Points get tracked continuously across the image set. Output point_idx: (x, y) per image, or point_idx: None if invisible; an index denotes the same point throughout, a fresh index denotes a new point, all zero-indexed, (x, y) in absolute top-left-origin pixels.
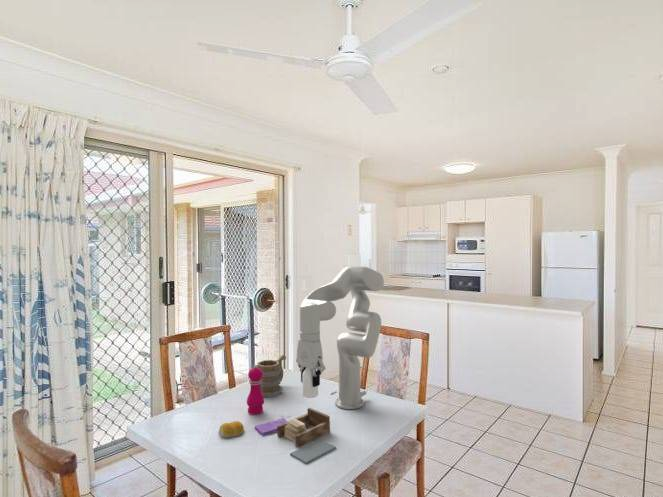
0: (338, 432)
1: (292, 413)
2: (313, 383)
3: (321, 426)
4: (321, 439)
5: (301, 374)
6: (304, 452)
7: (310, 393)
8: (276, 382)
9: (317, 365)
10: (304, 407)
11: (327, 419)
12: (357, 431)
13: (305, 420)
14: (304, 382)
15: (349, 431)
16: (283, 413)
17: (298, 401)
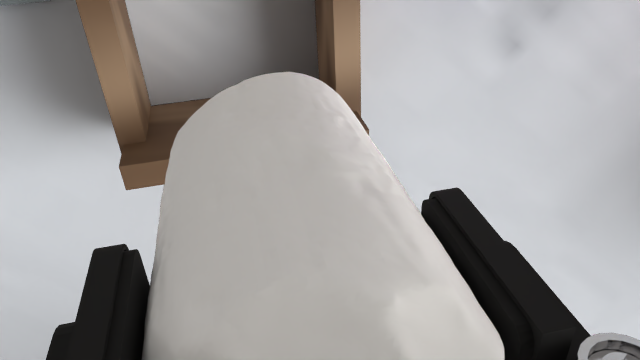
0: (96, 170)
1: (521, 88)
2: (88, 293)
3: (98, 73)
4: (30, 1)
5: (526, 291)
6: None
7: (178, 150)
8: None
9: None
10: (516, 189)
11: (122, 158)
12: (42, 263)
13: (327, 63)
14: (303, 188)
15: (69, 228)
16: (570, 40)
17: (595, 203)
